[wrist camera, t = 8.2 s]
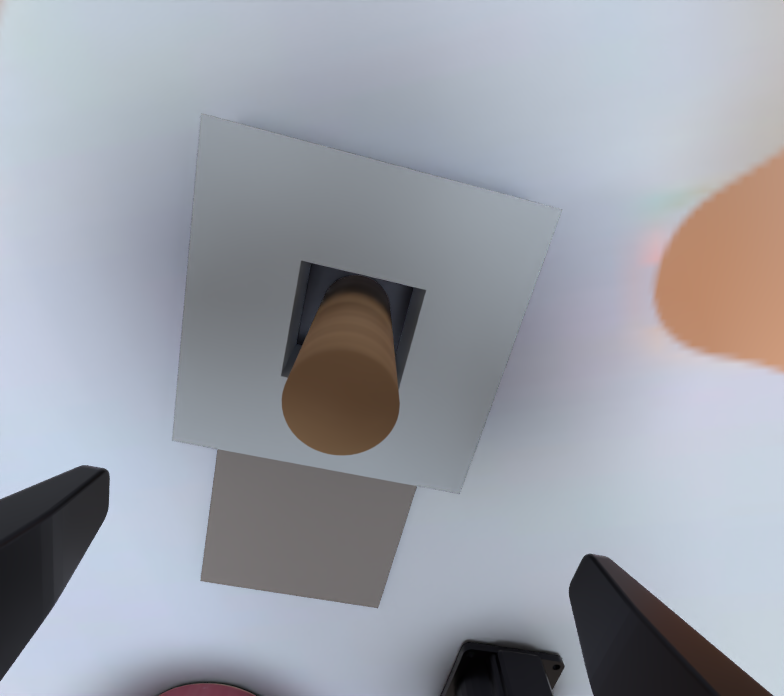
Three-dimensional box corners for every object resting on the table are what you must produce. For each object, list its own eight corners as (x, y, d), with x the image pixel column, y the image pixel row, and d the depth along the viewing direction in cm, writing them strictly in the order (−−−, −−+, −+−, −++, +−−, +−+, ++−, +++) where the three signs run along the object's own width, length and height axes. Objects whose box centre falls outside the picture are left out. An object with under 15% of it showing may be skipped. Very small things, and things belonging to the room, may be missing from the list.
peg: (381, 347, 21) (384, 464, 12) (316, 332, 20) (273, 443, 12) (397, 284, 20) (413, 364, 11) (329, 267, 19) (291, 338, 11)
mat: (378, 603, 26) (378, 608, 26) (202, 576, 25) (200, 581, 25) (445, 391, 21) (446, 394, 21) (232, 346, 20) (230, 348, 20)
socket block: (447, 448, 23) (459, 494, 19) (203, 400, 21) (172, 440, 18) (529, 203, 19) (562, 209, 15) (234, 125, 17) (200, 113, 14)
